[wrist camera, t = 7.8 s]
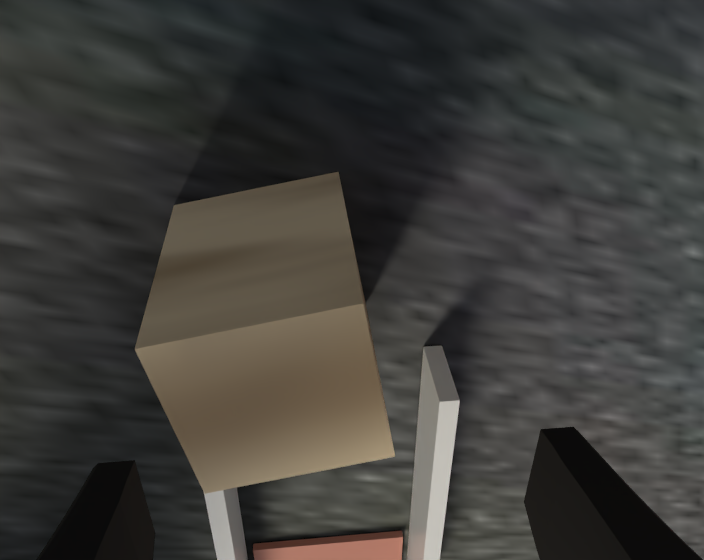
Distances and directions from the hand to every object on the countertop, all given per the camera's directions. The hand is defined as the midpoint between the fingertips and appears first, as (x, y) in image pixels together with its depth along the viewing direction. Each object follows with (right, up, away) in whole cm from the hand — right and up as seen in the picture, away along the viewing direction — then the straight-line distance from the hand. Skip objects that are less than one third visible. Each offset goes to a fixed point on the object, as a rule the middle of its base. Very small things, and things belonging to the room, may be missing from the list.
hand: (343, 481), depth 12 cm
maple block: (-2, +4, +7) cm, 8 cm away
